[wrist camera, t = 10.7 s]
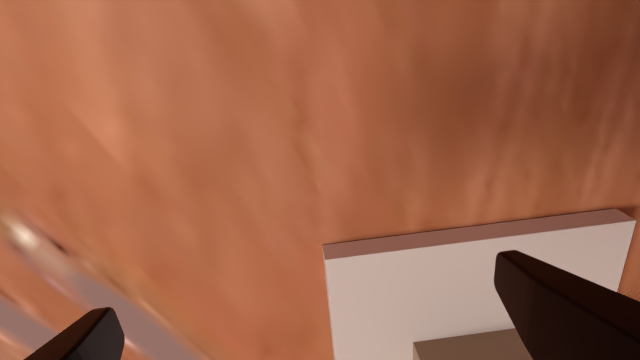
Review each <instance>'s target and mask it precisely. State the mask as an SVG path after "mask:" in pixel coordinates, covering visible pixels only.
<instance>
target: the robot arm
mask: <svg viewBox="0 0 640 360" xmlns="http://www.w3.org/2000/svg"><path fill="white" fill-rule="evenodd" d="M494 286H495V289H496V291H497V293H498V295H499V297H500V299H501V301H502V303H503V305H504V307H505V309H506V311H507V313H508V315H509V317H510V319H511V321H512V323H513V325H514V327H515V329H516V331H517V333H518V335H519V337H520V339H521V340H522V342H523V344H524V346H525V348H526V349H527V351H528V353H529V354H530V356H531V358H532V359H533V360H640V302H639V301H637V300H634V299H632V298H630V297H627V296H625V295H622V294H620V293H618V292H615V291H613V290H611V289H608V288H606V287H603V286H601V285H599V284H596V283H594V282H591V281H589V280H587V279H584V278H582V277H579V276H577V275H575V274H572V273H570V272H568V271H565V270H563V269H560V268H558V267H556V266H553V265H551V264H548V263H546V262H544V261H541V260H539V259H536V258H534V257H532V256H529V255H527V254H525V253H522V252H520V251H517V250H508V251H501V252H499V253H498V254H497V256H496V261H495V272H494ZM124 341H125V339H124V333H123V330H122V328H121V326H120V323H119V320H118V318H117V315H116V313H115V311H114V309H113V308H111V307H105V308H98V309H93V310H91V311H89V312H88V313H86V314H85V315H84V316H82V317H81V318H80V319H78V320H77V321H76V322H74V323H73V324H72V325H70V326H69V327H67V328H66V329H65V330H63V331H62V332H61V333H59V334H58V335H57V336H55V337H54V338H53V339H51V340H50V341H49V342H47V343H46V344H45V345H43V346H42V347H40V348H39V349H38V350H36V351H35V352H34V353H32V354H31V355H29V356H28V357H27V358H25V359H24V360H120V359H121V355H122V351H123V347H124Z"/></svg>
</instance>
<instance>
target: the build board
mask: <svg viewBox="0 0 640 360" xmlns="http://www.w3.org/2000/svg"><path fill="white" fill-rule="evenodd" d="M635 224H636V220H635V219H633V218H631V217H630V216H628V215H626V214H625V213H623V212H621V211H619V210H618V209H616V208H615V209H607V210H599V211H591V212H583V213H575V214H567V215H559V216H551V217H543V218H535V219H527V220H519V221H511V222H503V223H495V224H487V225H479V226H471V227H463V228H455V229H447V230H439V231H431V232H423V233H415V234H407V235H399V236H391V237H383V238H375V239H367V240H359V241H351V242H343V243H335V244H327V245H322V246H323V256H324V266H325V276H326V285H327V295H328V305H329V315H330V325H331V335H332V345H333V355H334V360H533V359H532V358H531V356H530V354H529V353H528V351H527V349H526V348H525V346H524V344H523V342H522V340H521V339H520V337H519V335H518V333H517V331H516V329H515V327H514V325H513V323H512V321H511V319H510V317H509V315H508V313H507V311H506V309H505V307H504V305H503V303H502V301H501V299H500V297H499V295H498V293H497V291H496V289H495V286H494V272H495V261H496V256H497V254H498V253H499V252H501V251H508V250H517V251H520V252H522V253H525V254H527V255H529V256H532V257H534V258H536V259H539V260H541V261H544V262H546V263H548V264H551V265H553V266H556V267H558V268H560V269H563V270H565V271H568V272H570V273H572V274H575V275H577V276H579V277H582V278H584V279H587V280H589V281H591V282H594V283H596V284H599V285H601V286H603V287H606V288H608V289H611V290H613V291H615V292H617V290H618V286H619V282H620V279H621V275H622V271H623V268H624V264H625V260H626V257H627V253H628V249H629V246H630V242H631V238H632V235H633V231H634V227H635Z"/></svg>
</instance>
